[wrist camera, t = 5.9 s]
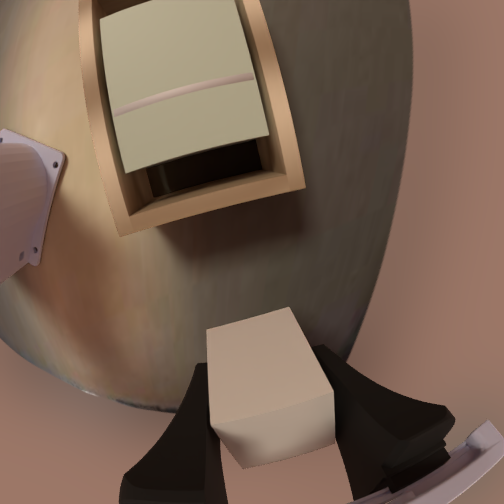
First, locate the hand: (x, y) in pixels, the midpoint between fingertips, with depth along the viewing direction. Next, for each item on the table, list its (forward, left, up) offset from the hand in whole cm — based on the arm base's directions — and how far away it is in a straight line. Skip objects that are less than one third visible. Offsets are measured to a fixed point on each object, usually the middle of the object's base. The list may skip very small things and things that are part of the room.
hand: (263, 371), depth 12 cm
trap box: (+11, +10, -10) cm, 18 cm away
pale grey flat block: (+9, +8, -4) cm, 13 cm away
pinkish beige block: (0, 0, -2) cm, 2 cm away
